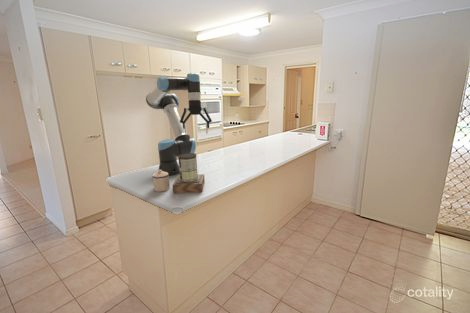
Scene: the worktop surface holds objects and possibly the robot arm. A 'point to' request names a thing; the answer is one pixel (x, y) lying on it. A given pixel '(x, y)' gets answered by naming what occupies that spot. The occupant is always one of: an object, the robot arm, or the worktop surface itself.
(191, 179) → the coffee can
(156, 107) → the robot arm
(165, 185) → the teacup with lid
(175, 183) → the riser block
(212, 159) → the worktop surface
